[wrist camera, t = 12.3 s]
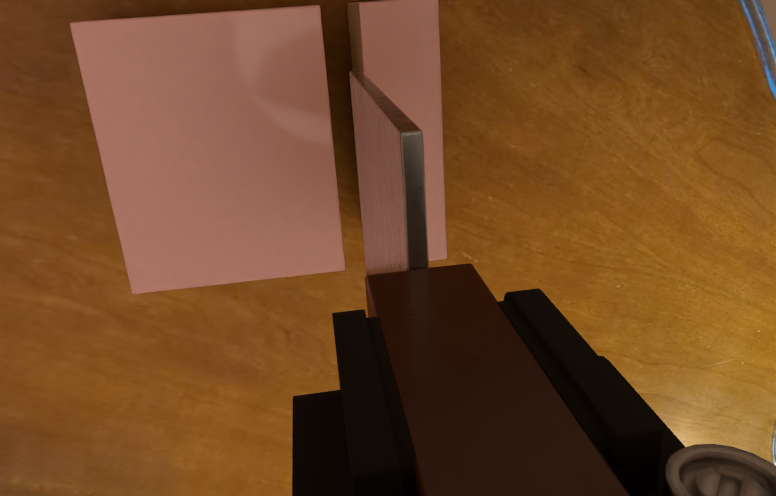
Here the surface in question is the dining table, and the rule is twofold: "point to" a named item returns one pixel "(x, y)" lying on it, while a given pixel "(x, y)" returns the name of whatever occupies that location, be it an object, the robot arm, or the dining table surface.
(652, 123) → the dining table surface
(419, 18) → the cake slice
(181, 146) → the sponge cake
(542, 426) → the kitchen knife
